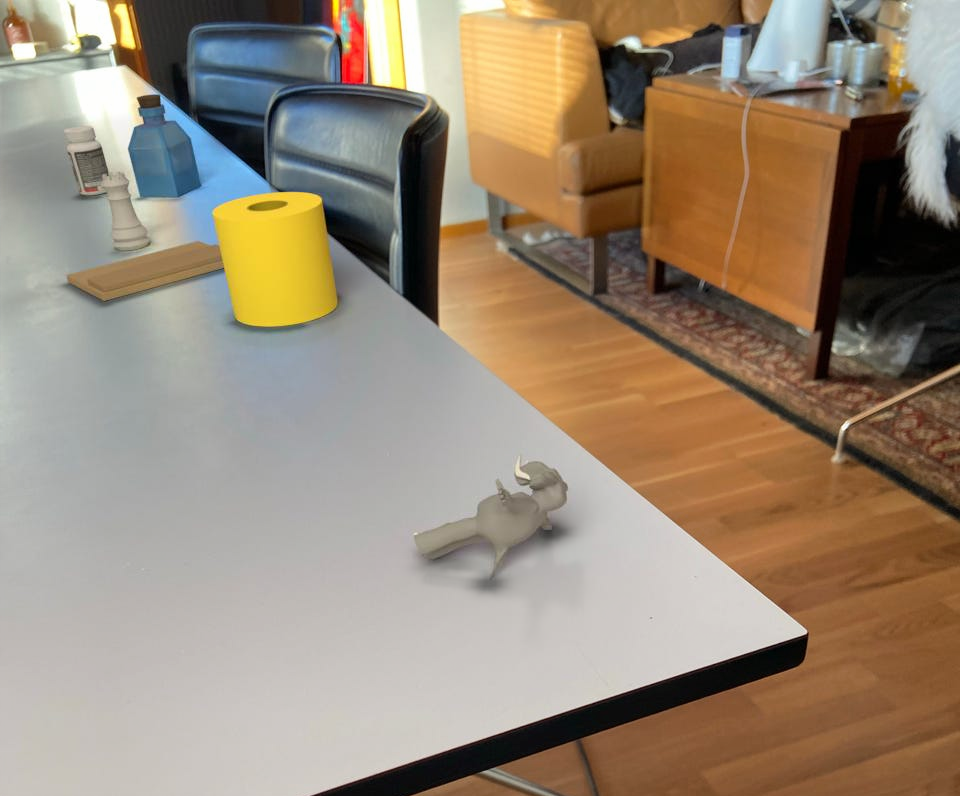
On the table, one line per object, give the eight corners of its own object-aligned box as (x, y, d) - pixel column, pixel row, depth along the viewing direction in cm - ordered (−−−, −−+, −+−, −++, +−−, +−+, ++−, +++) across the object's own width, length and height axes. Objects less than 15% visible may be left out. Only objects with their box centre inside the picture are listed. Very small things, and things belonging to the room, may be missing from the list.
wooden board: (104, 301, 105) (100, 287, 104) (68, 282, 111) (64, 269, 110) (241, 263, 112) (238, 250, 111) (200, 247, 119) (197, 235, 118)
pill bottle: (120, 188, 148) (103, 125, 143) (96, 196, 145) (78, 132, 140) (96, 187, 150) (78, 124, 145) (72, 195, 146) (54, 131, 141)
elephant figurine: (439, 515, 64) (573, 465, 61) (465, 605, 63) (602, 558, 61) (372, 484, 55) (527, 423, 52) (401, 589, 54) (560, 532, 51)
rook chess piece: (149, 238, 124) (130, 167, 119) (153, 247, 120) (134, 174, 116) (111, 244, 123) (91, 173, 118) (114, 253, 119) (94, 180, 114)
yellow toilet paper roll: (234, 332, 94) (211, 226, 88) (234, 299, 102) (213, 200, 96) (342, 317, 95) (325, 211, 90) (333, 286, 103) (318, 187, 98)
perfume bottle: (177, 196, 141) (155, 100, 134) (140, 196, 143) (115, 101, 135) (201, 185, 145) (180, 91, 138) (164, 185, 147) (142, 92, 140)
